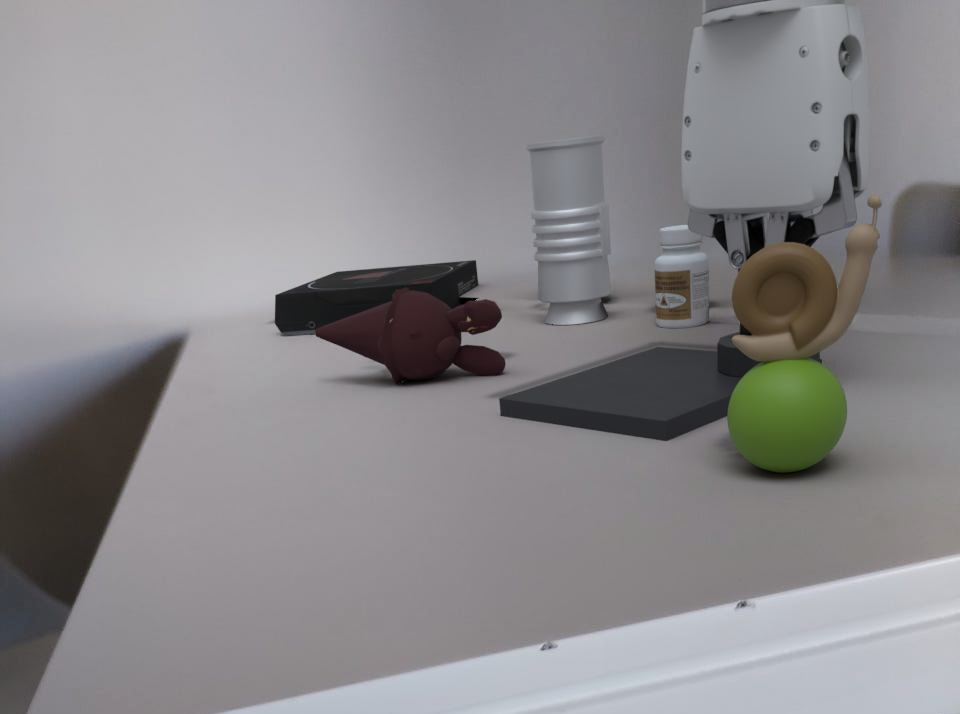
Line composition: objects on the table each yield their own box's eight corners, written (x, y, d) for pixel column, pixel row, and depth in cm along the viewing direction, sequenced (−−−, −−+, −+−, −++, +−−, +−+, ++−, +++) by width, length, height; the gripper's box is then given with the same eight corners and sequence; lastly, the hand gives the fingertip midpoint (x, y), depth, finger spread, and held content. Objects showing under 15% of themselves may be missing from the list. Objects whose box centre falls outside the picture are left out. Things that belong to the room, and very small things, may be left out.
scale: (658, 363, 75) (657, 320, 73) (837, 379, 65) (839, 330, 64) (500, 417, 65) (495, 369, 64) (682, 444, 56) (681, 389, 54)
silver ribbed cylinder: (594, 325, 91) (583, 137, 85) (525, 326, 95) (510, 146, 88) (626, 311, 96) (619, 133, 90) (560, 312, 100) (548, 140, 93)
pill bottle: (645, 328, 88) (642, 230, 84) (678, 318, 90) (676, 223, 87) (687, 331, 84) (685, 230, 81) (719, 320, 87) (719, 222, 84)
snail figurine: (874, 484, 47) (893, 198, 42) (729, 490, 48) (730, 214, 43) (857, 449, 52) (872, 189, 46) (725, 456, 53) (725, 204, 48)
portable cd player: (337, 308, 119) (331, 272, 117) (479, 298, 114) (475, 260, 113) (277, 336, 105) (269, 295, 103) (436, 325, 100) (431, 282, 98)
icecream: (285, 309, 74) (485, 316, 70) (325, 267, 79) (514, 272, 75) (305, 396, 78) (494, 408, 74) (342, 352, 84) (520, 360, 79)
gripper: (941, -39, 53) (911, 328, 61) (699, 8, 63) (701, 318, 71) (867, -42, 49) (846, 354, 56) (620, 9, 59) (632, 339, 67)
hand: (765, 333), depth 64 cm, fingers closed
